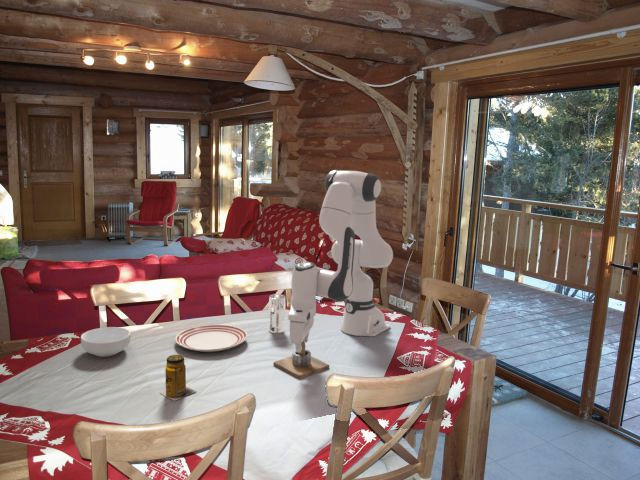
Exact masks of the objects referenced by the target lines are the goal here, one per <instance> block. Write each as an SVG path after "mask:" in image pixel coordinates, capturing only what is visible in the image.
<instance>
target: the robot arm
mask: <svg viewBox="0 0 640 480" xmlns="http://www.w3.org/2000/svg"><path fill="white" fill-rule="evenodd" d="M324 191H325V192H326V193H325V197H324V198H323V202H322V205H321V209H320V212H319V216H318V220H319V221H318V223H319V226H320V228H321V230H322V231H323V232H324V234H326V235H328V236H329V237H330V238H332V239H333V240H335V241H334V243H333V244H332V246H331V251H330V255H331V257H332V260H333V261H334V262H335V263H336V264H337V270H336V271H334V270H330V269H325V268H323V267H318V266H316V264H315V263H314V262H311V261H301V262H297V264H295V265H294V267H293V270H292V274H291V275H292V276H291V284H290V285H291V286H290V287H291V289H290V290H291V293H292V294H291V299H290V310H289V313H288V316H287V320H288V321H290V322H289V341H290V343H291V344H294V345H295V350H296V352H298V353H300V352H301V351H302V346H301V343H302V341H303V342H305V344H306V343H307V342H308V341H309V335H310V331H311V329H312V327H313V326H314V320H315V319H314V317H315V316H316V315H317V296H319V297H321V298H322V297H323V298H325V299H330V300H332V301H334V302H338V303H342V302H344V309H343V314H342V315H343V316H342V321H341V322H340V325H341V326H340V331H341V332H343V333H345V334H347V335H351V336H357V337H362V336H363V337H365V336H366V337H376V336H378V335H380V334H382V333H383V332H385V331H387V330H389V329H390V328H391V325H390V324H389V323H388V322H386V317H385V314H384V313H383V312H382V311H381V310H380V309H379V308H378V307H376V305H375V303H376V304H379V302H380V299H379V298H376V297H373V293H374V281H373V279H372V277H371V276H370V275H368V274H366V273H364V271H363V270H362V268H371V269H379V268H380V269H383V268H387V267H389V266H390V264H391V263H392V261H393V258H394V251H393V249H392V247H391V245H390V244H389V243H388V242H386V241H385V240H384V239H383V238H382V236H381V234H380V233H379V230H378V228H377V215H376V213H377V209H376V206H377V205H376V203H377V202H376V200H378V198H379V197H380V195H381V191H382V181H381V178H380V177H379V176H378V175H377V174H374V173H371V172H370V173H367V172H364V171H360V170H359V171H358V170H341V169H334V170H331V171H329V172H328V173H327V175H326V177H325V178H324ZM355 236H358V237H359V238H360V239H356V237H355ZM361 267H362V268H361Z"/></svg>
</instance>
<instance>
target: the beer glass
mask: <svg viewBox="0 0 640 480" xmlns="http://www.w3.org/2000/svg"><path fill="white" fill-rule="evenodd" d="M268 299H269V300H268V313H269V321H270V325H269V330H268V332H269V333H271V334H282V333H284V330H285V329H284V320H285V319H284V318H285V314H286V295H285V294H280V293H277V294H276V293H274V294H270V295H269V298H268Z"/></svg>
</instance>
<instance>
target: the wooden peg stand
mask: <svg viewBox="0 0 640 480" xmlns="http://www.w3.org/2000/svg"><path fill="white" fill-rule="evenodd" d="M301 346H302V351H301V352H300V353H298V355H305V350H306V343H305V342H303V341H302V343H301ZM272 364H273V366H274V367H277V368H278V369H280V370H282V371H284V372H285V373H287V374H289V375H290V376H293V377H295V378H297V379H298V380H300V379H303V378H306V377H308V376H312V375H313V374H316V373H319V372H322V371H324V370H325V371H326V370H327V369H330V364H328V363H326V362H324V361H322V360H319V358H315V357H314V356H312V355H311V364H310V365H309V366H307V367H296V366H294V365H293V364H292V355H291V356H287V357H284V358H281V359H278V360H275V361H273V363H272Z"/></svg>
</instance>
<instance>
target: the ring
mask: <svg viewBox="0 0 640 480" xmlns="http://www.w3.org/2000/svg"><path fill="white" fill-rule="evenodd" d="M291 356H292V364H293V365H294V366H296V367H307V366H309V365H310V364H311V356H312V352H311V351H310V350H308V349H305V355H298V352H296V349H294V350H293V351H292V355H291Z"/></svg>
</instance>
